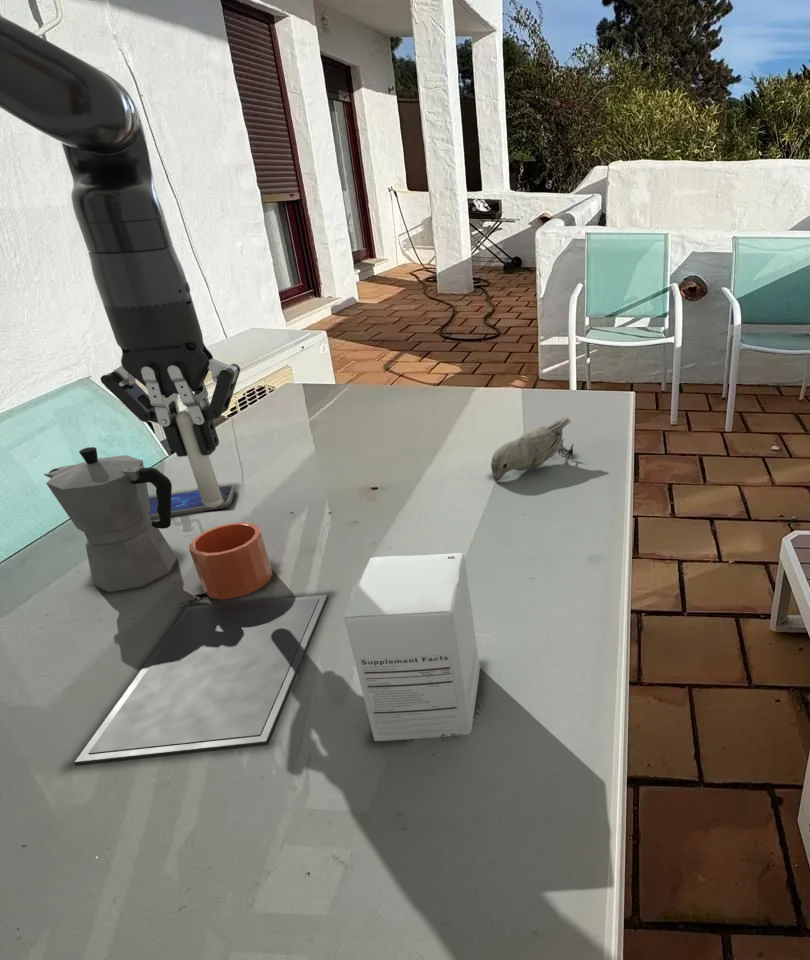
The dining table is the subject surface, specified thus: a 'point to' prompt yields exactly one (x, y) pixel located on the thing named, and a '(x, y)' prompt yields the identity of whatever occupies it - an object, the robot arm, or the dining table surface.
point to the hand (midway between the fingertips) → (197, 452)
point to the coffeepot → (117, 517)
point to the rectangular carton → (415, 646)
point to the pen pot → (231, 560)
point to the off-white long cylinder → (199, 462)
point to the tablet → (211, 681)
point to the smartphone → (191, 502)
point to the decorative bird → (530, 449)
